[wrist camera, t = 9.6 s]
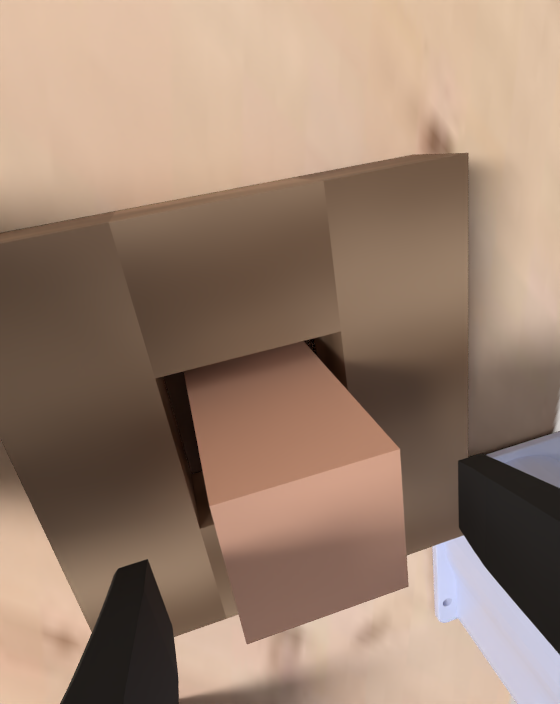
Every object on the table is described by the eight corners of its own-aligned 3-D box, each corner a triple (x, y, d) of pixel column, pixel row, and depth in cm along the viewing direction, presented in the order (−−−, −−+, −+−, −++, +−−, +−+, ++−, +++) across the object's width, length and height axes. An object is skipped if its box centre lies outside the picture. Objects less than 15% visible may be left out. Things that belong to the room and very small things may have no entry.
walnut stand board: (427, 487, 21) (467, 533, 19) (111, 590, 19) (105, 661, 16) (413, 154, 16) (468, 153, 13) (-39, 240, 13) (-84, 260, 11)
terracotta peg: (306, 423, 19) (408, 586, 11) (205, 451, 18) (247, 644, 11) (291, 328, 17) (399, 449, 10) (180, 355, 16) (209, 506, 9)
